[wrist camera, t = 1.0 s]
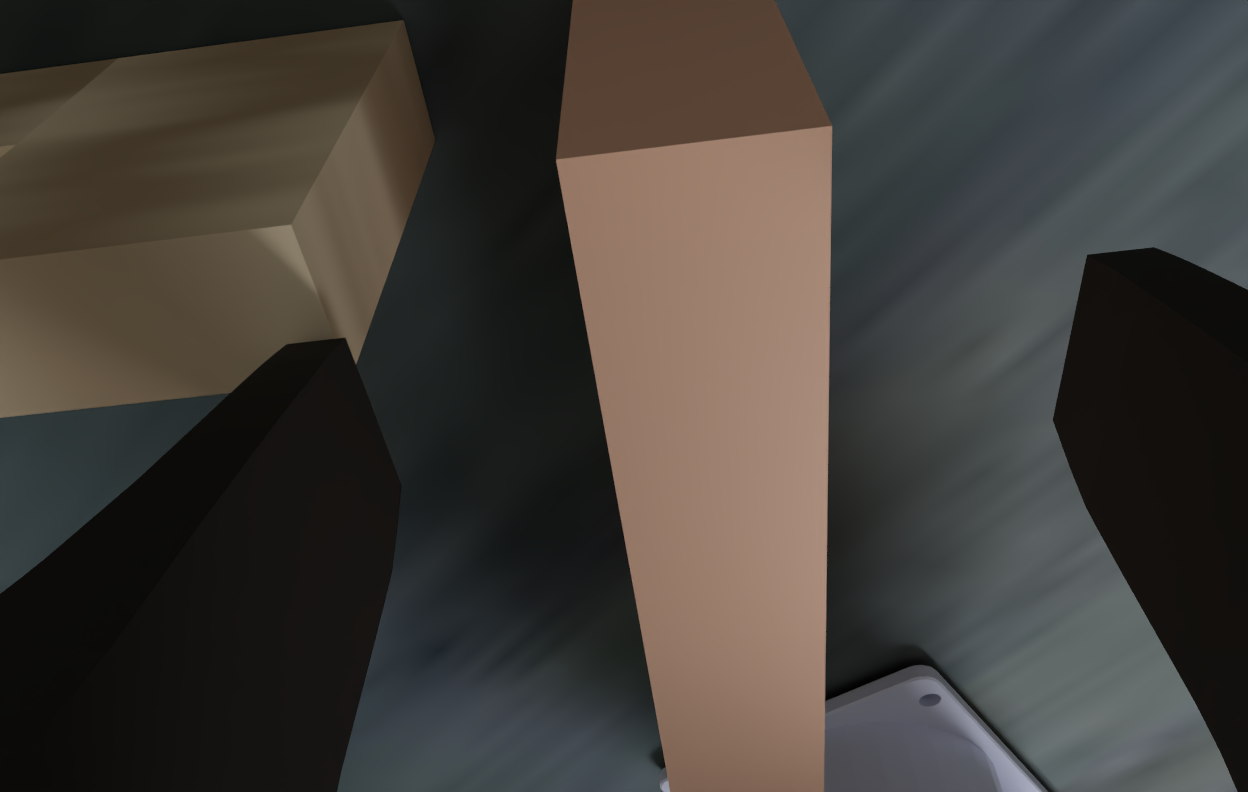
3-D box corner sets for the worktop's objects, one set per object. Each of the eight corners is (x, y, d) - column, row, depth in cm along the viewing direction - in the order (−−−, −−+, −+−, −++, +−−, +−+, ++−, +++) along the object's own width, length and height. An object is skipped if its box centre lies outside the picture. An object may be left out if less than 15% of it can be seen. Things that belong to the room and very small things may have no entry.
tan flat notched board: (575, -27, 13) (555, 159, 8) (751, -52, 13) (831, 125, 8) (662, 559, 20) (677, 833, 16) (774, 549, 20) (823, 823, 16)
